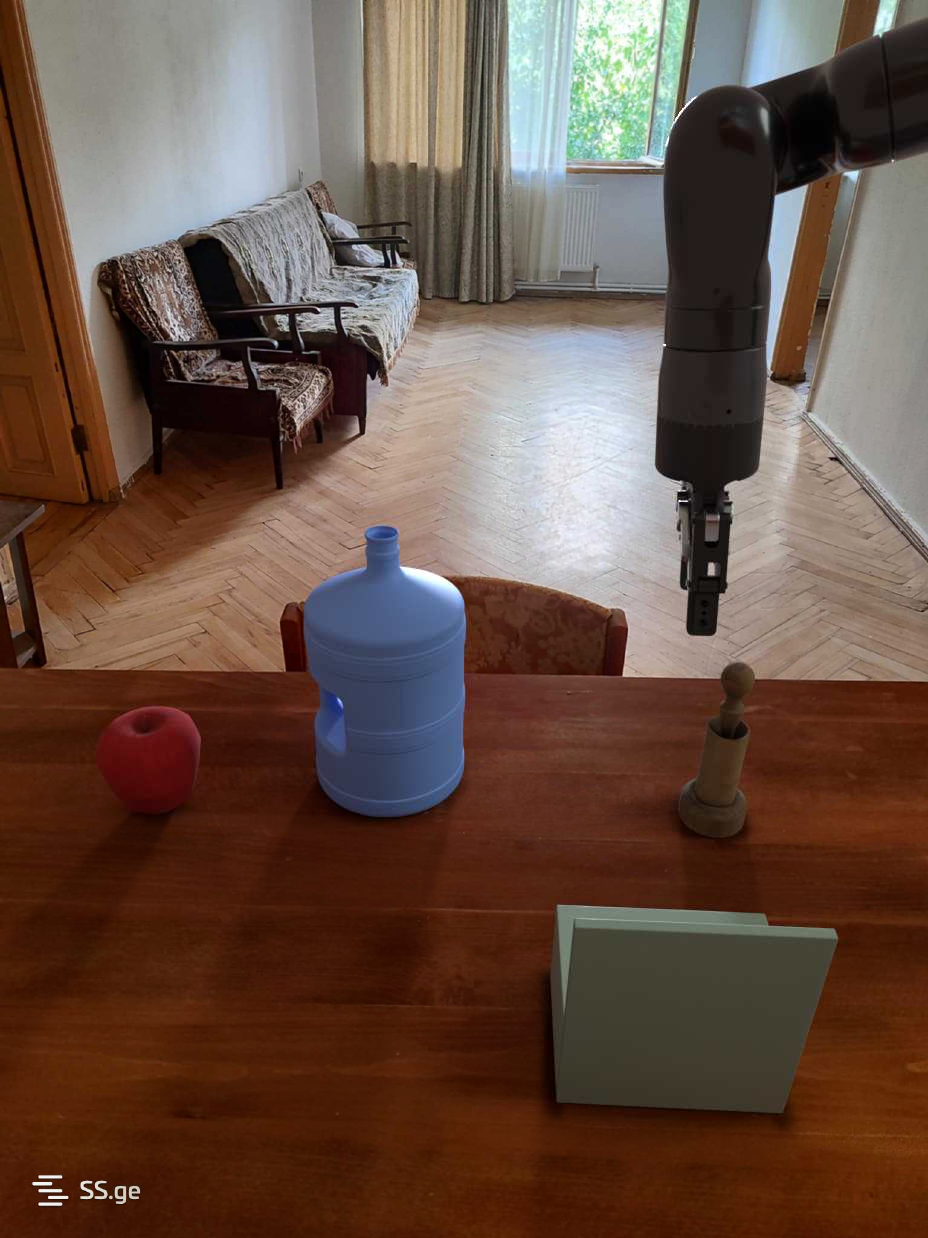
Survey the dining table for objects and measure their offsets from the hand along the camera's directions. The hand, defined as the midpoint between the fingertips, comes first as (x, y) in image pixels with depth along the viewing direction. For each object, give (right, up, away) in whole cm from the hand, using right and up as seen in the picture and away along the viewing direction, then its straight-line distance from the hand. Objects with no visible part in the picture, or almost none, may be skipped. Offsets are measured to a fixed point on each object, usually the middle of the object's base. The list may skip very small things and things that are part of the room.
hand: (696, 609), depth 71 cm
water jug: (-27, -17, +24) cm, 40 cm away
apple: (-50, -20, +19) cm, 57 cm away
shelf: (-4, -33, -3) cm, 33 cm away
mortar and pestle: (+6, -21, +18) cm, 28 cm away
